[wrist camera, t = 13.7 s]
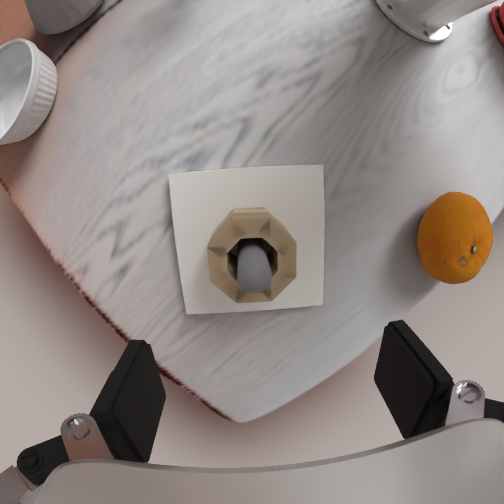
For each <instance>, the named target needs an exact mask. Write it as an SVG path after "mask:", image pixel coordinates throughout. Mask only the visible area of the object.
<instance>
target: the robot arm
mask: <svg viewBox="0 0 504 504" xmlns="http://www.w3.org/2000/svg"><path fill="white" fill-rule="evenodd" d="M375 1H376V3H377V4H378V5H379V7H380V8H381V10H382V11H383V12H384V13H385V14H386V16H387V17H388V18H389V19H390V20H391V21H392V22H394V23H395V24H396V25H397V26H398V27H400V28H401V29H402V30H404V31H405V32H407V33H408V34H410V35H412V36H414V37H416V38H417V39H420V40H423V41H427V42H440V41H442V40H444V39H446V38H448V36H449V35H450V34H451V31H452V22H453V21H455V20H457V19H459V18H461V17H463V16H465V15H467V14H469V13H471V12H473V11H475V10H477V9H479V8H481V7H484V6H486V5H488V4H490V3H492V2H495V1H497V0H375ZM374 380H375V384H376V385H377V387H378V389H379V391H380V393H381V395H382V397H383V399H384V401H385V403H386V405H387V406H388V408H389V410H390V412H391V414H392V416H393V418H394V420H395V422H396V424H397V426H398V428H399V430H400V432H401V434H402V436H403V438H404V439H405V440H402V441H399V442H395V443H392V444H389V445H385V446H382V447H378V448H375V449H371V450H367V451H363V452H359V453H354V454H349V455H345V456H340V457H335V458H329V459H324V460H318V461H311V462H304V463H297V464H288V465H278V466H266V467H248V468H200V467H182V466H169V465H158V464H149V463H147V462H148V461H149V459H150V455H151V451H152V447H153V443H154V439H155V436H156V432H157V428H158V425H159V421H160V417H161V414H162V410H163V406H164V403H165V399H166V394H165V390H164V387H163V384H162V381H161V378H160V375H159V372H158V368H157V365H156V362H155V359H154V355H153V352H152V348H151V345H150V344H147V343H146V341H145V340H130V342H129V343H128V345H127V347H126V349H125V351H124V353H123V354H122V356H121V358H120V360H119V361H118V364H117V365H116V367H115V369H114V371H112V372H111V374H110V375H109V377H108V379H107V381H106V383H105V385H104V387H103V389H102V390H101V392H100V394H99V396H98V398H97V400H96V402H95V404H94V406H93V408H92V410H91V412H90V414H89V415H87V414H80V413H79V414H74V415H72V416H70V417H68V418H67V419H66V420H65V421H64V422H63V424H62V426H61V435H59V436H57V437H55V438H52V439H50V440H47V441H45V442H42V443H40V444H37V445H35V446H32V447H29V448H27V449H25V450H23V451H22V452H21V453H20V455H19V456H18V459H17V466H16V467H14V466H13V465H12V466H10V467H9V468H8V469H6V470H5V471H3V472H2V473H1V474H0V504H504V402H499V401H495V400H490V399H486V398H485V393H484V390H483V388H482V387H481V386H480V385H479V384H477V383H476V382H473V381H470V380H463V381H459V382H458V383H456V384H454V382H453V381H452V380H453V378H452V377H451V376H450V374H449V373H448V372H447V371H446V369H445V368H444V367H443V366H442V365H441V363H440V362H439V361H438V360H437V359H436V357H435V356H434V355H433V354H432V353H431V351H430V350H429V349H428V348H427V347H426V346H425V345H424V343H423V342H422V341H421V340H420V339H419V337H418V336H417V335H416V334H415V333H414V332H413V331H412V330H411V328H410V327H409V326H408V325H407V324H406V323H405V322H404V321H403V320H398V321H392V322H389V323H388V326H385V328H384V333H383V338H382V343H381V348H380V353H379V357H378V362H377V366H376V370H375V374H374Z"/></svg>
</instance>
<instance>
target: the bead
mask: <svg viewBox="0 0 504 504" xmlns="http://www.w3.org/2000/svg"><path fill="white" fill-rule="evenodd" d="M242 238H263V239H265V240H266V241H267V242H268V243H269V244H270V245H271V250H270V251H269V252H268V253H267V254H266V255H267V259H268V262H269V266H270V269H271V273H272V281H271V283H270V285H269V287H268V288H267V289H266V290H264V291H262V292H260V293H249V292H247V291H245V290H243V289H242V288H241V287H240V285H239V283H238V279H237V274H238V258H237V257H236V256H235V255H233V254H232V253H231V252H230V250H231V249H232V247H233V246H234V245H235V244H236V243H237V242H238V241H239V240H240V239H242ZM207 254H208V265H209V276H210V282H211V283H212V284H213V285H215V286H216V287H217V288H218V289H220V290H221V291H222V292H223V293H225V294H226V295H227V296H228V297H230V298H231V299H232V300H233V301H235V302H236V303H253V302H271V301H273V300H274V299H275V298H276V297H277V296H278V295H279V294H280V293H281V292H282V291H283V290H284V289H285V288H286V287H287V286H288V285H289V284H290V283H291V282H292V281H293V280H294V279H295V278H296V257H297V243H296V241H295V240H294V239H293V237H292V236H291V234H290V233H289V231H288V230H287V229H286V227H285V226H284V225H283V224H282V223H280V222H279V221H278V220H277V219H276V218H275V217H274V216H273V215H272V214H271V213H270V212H269V211H267V210H266V209H265V208H264V207H256V208H235V209H233V210H232V211H231V212H230V213H229V214H228V215H227V216H226V218H225V219H224V220H223V221H222V222H221V223H220V224H219V225H218V226H217V228H216V229H215V230H214V231H213V234H212V236H211V238H210V241H209V243H208V246H207Z"/></svg>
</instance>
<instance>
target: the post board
mask: <svg viewBox="0 0 504 504" xmlns="http://www.w3.org/2000/svg"><path fill="white" fill-rule="evenodd" d="M168 177H169V188H170V199H171V209H172V218H173V226H174V235H175V243H176V250H177V258H178V265H179V272H180V278H181V285H182V291H183V297H184V303H185V309H186V314H211V313H230V312H246V311H261V310H274V309H286V308H297V307H308V306H318V305H323V285H324V234H325V223H324V173H323V164H322V165H277V166H255V167H239V168H225V169H213V170H202V171H192V172H183V173H174V174H168ZM256 207H264V208H265V209H266V210H267V211H269V212H270V213H271V214H272V215H273V216H274V217H275V218H276V219H277V220H278V221H279V222H280V223H282V224H283V225H284V226H285V227H286V229H287V230H288V231H289V233H290V234H291V236H292V237H293V239H294V240H295V241H296V243H297V257H296V278H295V279H294V280H293V281H292V282H291V283H290V284H289V285H288V286H287V287H286V288H285V289H284V290H283V291H282V292H281V293H280V294H279V295H278V296H277V297H276V298H275V299H274V300H273V301H271V302H253V303H236V302H235V301H233V300H232V299H231V298H230V297H228V296H227V295H226V294H225V293H223V292H222V291H221V290H220V289H218V288H217V287H216V286H215V285H213V284H212V283H211V282H210V276H209V265H208V254H207V246H208V243H209V241H210V238H211V236H212V234H213V231H214V230H215V229H216V228H217V226H218V225H219V224H220V223H221V222H222V221H223V220H224V219H225V218H226V216H227V215H228V214H229V213H230V212H231V211H232V210H233V209H235V208H256ZM270 250H271V245H270V244H269V243H268V242H267V241H266V240H265V239H263V238H242V239H240V240H239V241H238V242H237V243H236V244H235V245H234V246H233V247H232V249H231V250H230V252H231V253H232V254H233V255H235V256H236V257H237V258H238V274H237V279H238V283H239V285H240V287H241V288H242V289H243V290H245V291H247V292H249V293H260V292H262V291H264V290H266V289H267V288H268V287H269V285H270V283H271V281H272V273H271V269H270V266H269V262H268V259H267V255H266V254H267V253H268V252H269V251H270Z"/></svg>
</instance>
